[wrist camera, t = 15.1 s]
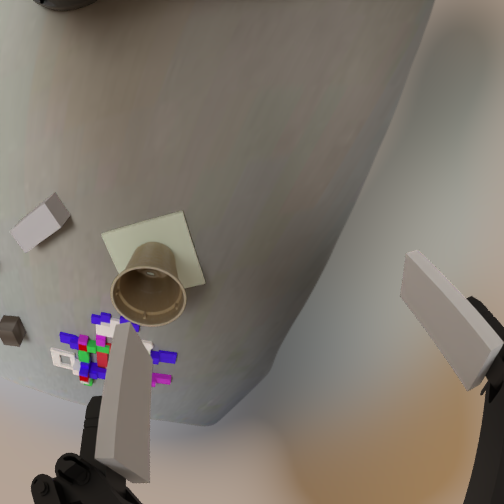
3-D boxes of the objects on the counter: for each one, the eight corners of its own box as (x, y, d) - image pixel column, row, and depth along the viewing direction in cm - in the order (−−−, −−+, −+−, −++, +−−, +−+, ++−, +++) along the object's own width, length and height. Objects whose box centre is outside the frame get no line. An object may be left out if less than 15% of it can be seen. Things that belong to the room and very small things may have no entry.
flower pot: (191, 283, 47) (192, 323, 39) (131, 290, 46) (122, 330, 38) (181, 226, 42) (179, 261, 34) (115, 235, 41) (100, 271, 33)
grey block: (21, 218, 37) (9, 231, 34) (55, 191, 36) (44, 202, 33) (35, 239, 39) (25, 253, 36) (70, 214, 39) (61, 227, 35)
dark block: (3, 315, 45) (-4, 329, 41) (19, 316, 45) (11, 331, 42) (10, 330, 47) (4, 344, 43) (26, 332, 47) (19, 346, 44)
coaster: (102, 232, 41) (101, 234, 40) (182, 210, 41) (182, 212, 41) (132, 298, 47) (132, 300, 46) (205, 281, 48) (205, 283, 47)
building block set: (183, 324, 52) (183, 343, 48) (168, 390, 61) (168, 407, 58) (44, 297, 45) (36, 314, 41) (56, 369, 54) (52, 385, 50)
